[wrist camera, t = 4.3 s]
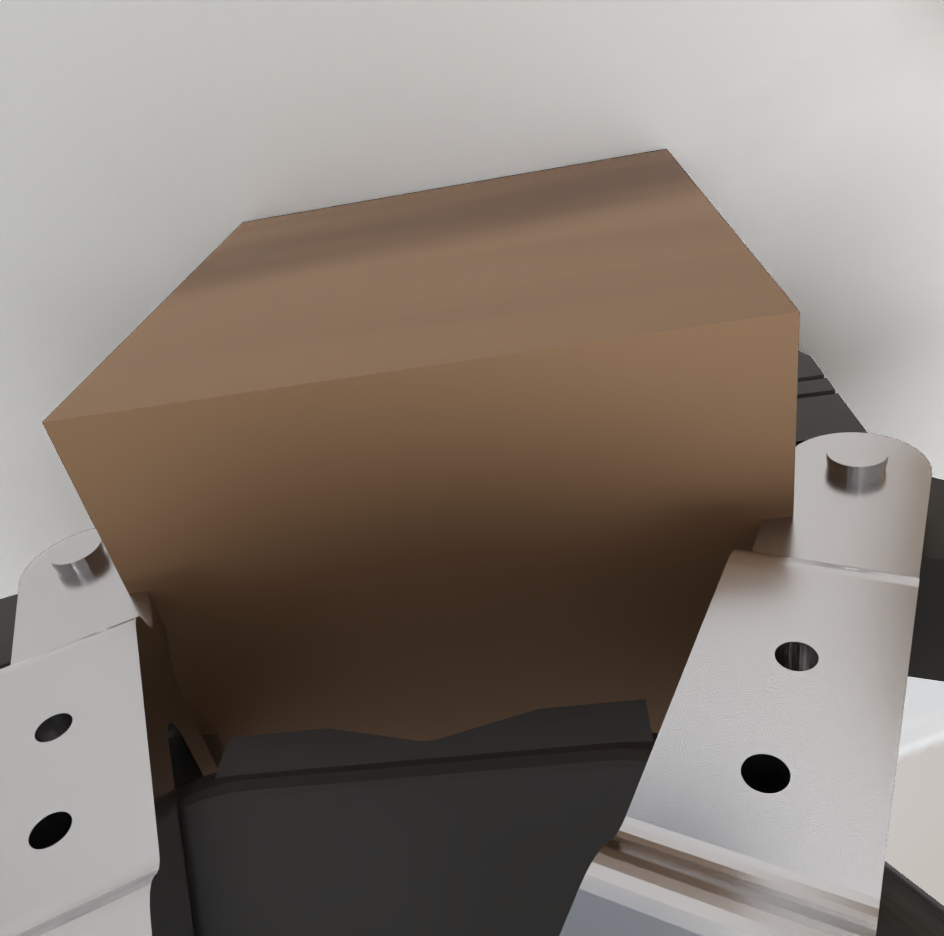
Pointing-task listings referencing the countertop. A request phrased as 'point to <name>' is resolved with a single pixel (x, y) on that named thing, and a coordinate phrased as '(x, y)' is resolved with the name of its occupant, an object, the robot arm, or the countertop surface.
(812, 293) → the countertop surface
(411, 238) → the walnut block
